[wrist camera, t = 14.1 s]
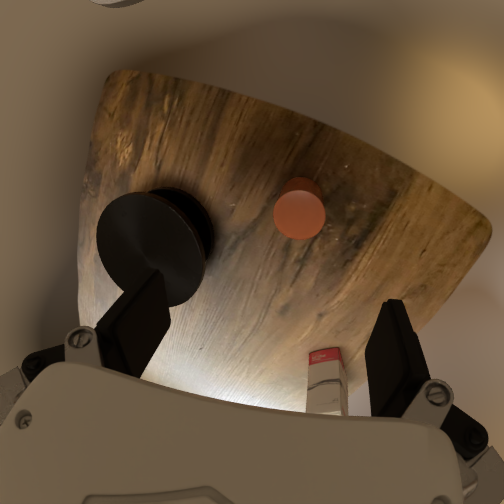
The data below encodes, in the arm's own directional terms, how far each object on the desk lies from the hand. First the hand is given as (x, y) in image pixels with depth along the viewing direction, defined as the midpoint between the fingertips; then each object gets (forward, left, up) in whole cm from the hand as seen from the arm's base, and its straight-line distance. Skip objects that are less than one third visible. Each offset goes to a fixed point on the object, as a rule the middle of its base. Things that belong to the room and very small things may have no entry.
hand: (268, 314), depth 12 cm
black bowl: (+7, -15, -22) cm, 28 cm away
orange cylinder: (+1, +1, -22) cm, 22 cm away
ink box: (+27, +9, -22) cm, 36 cm away
